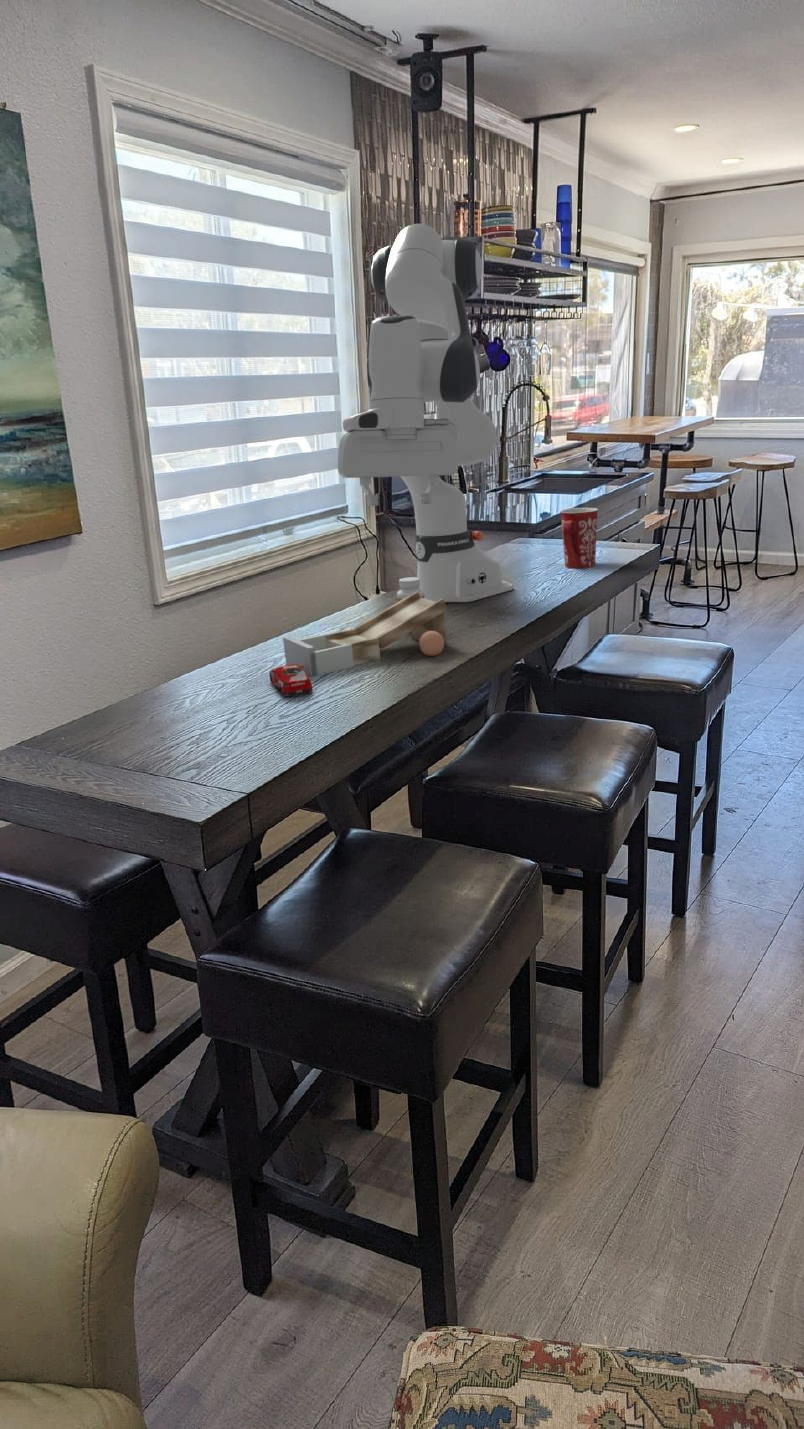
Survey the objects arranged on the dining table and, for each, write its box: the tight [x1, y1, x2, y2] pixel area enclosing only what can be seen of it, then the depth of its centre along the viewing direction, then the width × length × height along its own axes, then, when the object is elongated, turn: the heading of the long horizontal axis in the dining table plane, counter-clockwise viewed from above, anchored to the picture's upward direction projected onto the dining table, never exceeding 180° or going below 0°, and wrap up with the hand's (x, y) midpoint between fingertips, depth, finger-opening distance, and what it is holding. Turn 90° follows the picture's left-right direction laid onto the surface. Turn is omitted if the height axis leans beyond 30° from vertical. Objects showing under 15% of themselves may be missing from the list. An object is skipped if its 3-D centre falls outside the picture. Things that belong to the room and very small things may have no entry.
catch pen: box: [282, 633, 355, 678], centre depth 172 cm, size 8×10×5 cm
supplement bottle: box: [396, 576, 425, 603], centre depth 192 cm, size 5×5×10 cm
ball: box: [418, 631, 445, 657], centre depth 173 cm, size 4×4×4 cm
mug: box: [559, 507, 599, 569], centre depth 237 cm, size 13×9×14 cm
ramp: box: [325, 592, 448, 666], centre depth 178 cm, size 20×10×8 cm, turn 120°
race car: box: [268, 664, 314, 697], centre depth 162 cm, size 13×5×4 cm, turn 17°
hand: (399, 505), depth 165 cm, fingers open, 8 cm apart
